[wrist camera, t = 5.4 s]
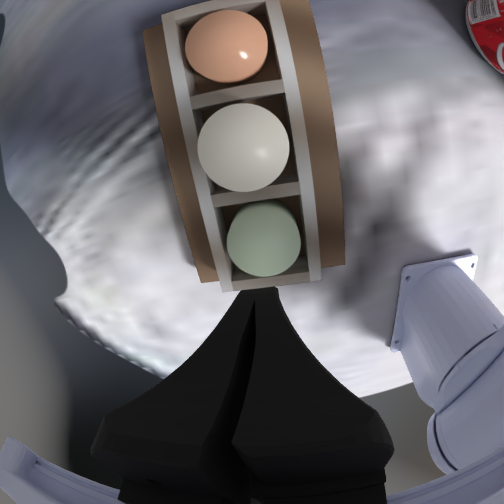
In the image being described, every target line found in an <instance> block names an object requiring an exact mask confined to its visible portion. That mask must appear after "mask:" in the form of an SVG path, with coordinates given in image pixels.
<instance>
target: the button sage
mask: <svg viewBox="0 0 504 504" xmlns="http://www.w3.org/2000/svg"><path fill="white" fill-rule="evenodd" d="M300 246H301V240H300V235H299V231H298V227H297V223H296V219H295V216H294V214H293V213H292V211H291V210H290V209H289V208H288V207H287V206H286V205H285V204H284V203H282V202H281V201H278V200H276V199H266V200H259V201H252V202H246V203H245V204H243V205H242V206H241V207H240V208H239V209H238V210H237V212H236V213H235V215H234V218H233V220H232V223H231V226H230V229H229V233H228V236H227V250H228V253H229V255H230V258H231V259H232V261H233V262H234V263H235V265H236V266H238V267H239V268H240V269H241V270H243V271H244V272H246V273H249V274H251V275H255V276H262V277H266V276H274V275H277V274H279V273H282V272H284V271H285V270H287V269H288V268H289V267H290V266H291V265H292V264H293V263H294V262H295V260H296V259H297V257H298V255H299V252H300Z"/></svg>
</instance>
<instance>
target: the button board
mask: <svg viewBox="0 0 504 504" xmlns="http://www.w3.org/2000/svg"><path fill="white" fill-rule="evenodd" d="M223 10H236V11H241V12H244V13H247V14H249V15H251V16H252V17H254V18H255V19H257V20H258V21H259V22H260V23H261V25H262V26H263V28H264V30H265V32H266V35H267V40H268V56H267V61H266V63H265V65H264V67H263V69H262V70H261V72H260V73H259V74H258V75H257V76H255V77H254V78H253V79H251V80H249V81H247V82H245V83H242V84H238V85H222V84H218V83H215V82H213V81H211V80H209V79H208V78H206V77H205V76H203V75H201V74H200V73H198V72H197V71H196V70H195V69H194V68H193V67H192V66H191V65H190V63H189V62H188V59H187V57H186V53H185V43H186V39H187V36H188V34H189V32H190V30H191V29H192V27H193V26H194V25H195V24H196V23H197V22H198V21H199V20H200V19H202V18H203V17H205V16H207V15H209V14H211V13H214V12H218V11H223ZM161 17H162V24H159V25H156V26H153V27H151V28H148V29H145V30H143V31H142V32H143V39H144V46H145V52H146V58H147V64H148V70H149V75H150V81H151V86H152V91H153V96H154V102H155V107H156V111H157V116H158V121H159V126H160V130H161V135H162V139H163V144H164V148H165V152H166V157H167V161H168V165H169V169H170V173H171V177H172V181H173V185H174V189H175V193H176V197H177V201H178V205H179V208H180V212H181V216H182V219H183V223H184V227H185V230H186V234H187V237H188V241H189V244H190V248H191V251H192V255H193V258H194V261H195V265H196V268H197V271H198V275H199V278H200V281H201V283H205V282H214V281H220V284H221V288H222V292H231V291H240V290H248V289H256V288H265V287H273V286H281V285H289V284H297V283H304V282H312V281H319V280H322V278H321V268H325V267H332V266H339V265H345V237H344V217H343V201H342V188H341V177H340V167H339V157H338V148H337V140H336V132H335V125H334V118H333V111H332V105H331V99H330V93H329V87H328V82H327V76H326V71H325V66H324V61H323V56H322V52H321V47H320V43H319V38H318V34H317V30H316V26H315V22H314V18H313V14H312V11H311V7H310V3H309V0H212V1H207V2H203V3H199V4H196V5H192V6H188V7H185V8H181V9H178V10H175V11H172V12H169V13H166V14H163V15H161ZM240 103H247V104H254V105H257V106H260V107H263V108H265V109H266V110H268V111H270V112H271V113H272V114H274V115H275V116H276V117H277V118H278V119H279V120H280V122H281V123H282V125H283V126H284V128H285V130H286V133H287V136H288V140H289V155H288V160H287V163H286V165H285V167H284V169H283V171H282V172H281V174H280V175H279V176H278V177H277V178H276V179H275V180H274V181H273V182H272V183H270V184H269V185H267V186H265V187H263V188H261V189H258V190H255V191H250V192H237V191H232V190H228V189H226V188H224V187H222V186H220V185H218V184H217V183H215V182H214V181H213V180H212V179H211V178H210V177H209V176H208V175H207V174H206V173H205V171H204V169H203V168H202V166H201V163H200V160H199V157H198V138H199V135H200V132H201V129H202V127H203V126H204V124H205V123H206V121H207V120H208V119H209V118H210V117H211V116H212V115H213V114H214V113H215V112H217V111H218V110H220V109H222V108H224V107H226V106H229V105H233V104H240ZM266 199H276V200H278V201H281V202H282V203H284V204H285V205H286V206H287V207H288V208H289V209H290V210H291V211H292V213H293V214H294V216H295V219H296V223H297V227H298V231H299V235H300V240H301V246H300V252H299V255H298V257H297V259H296V260H295V262H294V263H293V264H292V265H291V266H290V267H289V268H288V269H287V270H285V271H284V272H282V273H279V274H277V275H274V276H266V277H262V276H255V275H251V274H249V273H246V272H244V271H243V270H241V269H240V268H239V267H238V266H236V265H235V263H234V262H233V261H232V259H231V258H230V255H229V253H228V250H227V236H228V233H229V229H230V226H231V223H232V220H233V218H234V215H235V213H236V212H237V210H238V209H239V208H240V207H241V206H242V205H243V204H245V203H246V202H252V201H259V200H266Z"/></svg>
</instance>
